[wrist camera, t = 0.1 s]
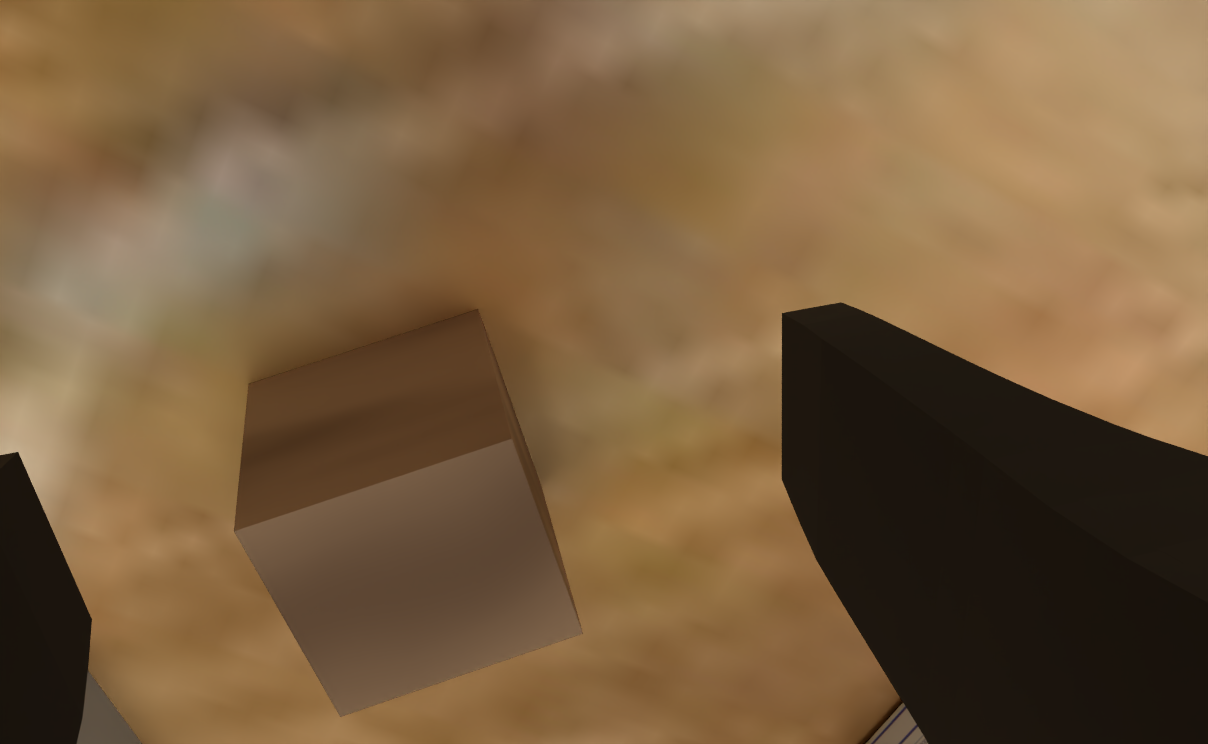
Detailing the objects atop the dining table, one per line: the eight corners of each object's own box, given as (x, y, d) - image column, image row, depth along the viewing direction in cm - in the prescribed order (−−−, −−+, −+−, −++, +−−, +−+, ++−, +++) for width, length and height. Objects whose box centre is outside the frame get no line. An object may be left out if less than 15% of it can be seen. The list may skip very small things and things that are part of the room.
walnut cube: (540, 484, 24) (582, 634, 20) (336, 553, 24) (340, 716, 20) (477, 307, 21) (511, 439, 18) (248, 381, 21) (234, 531, 17)
